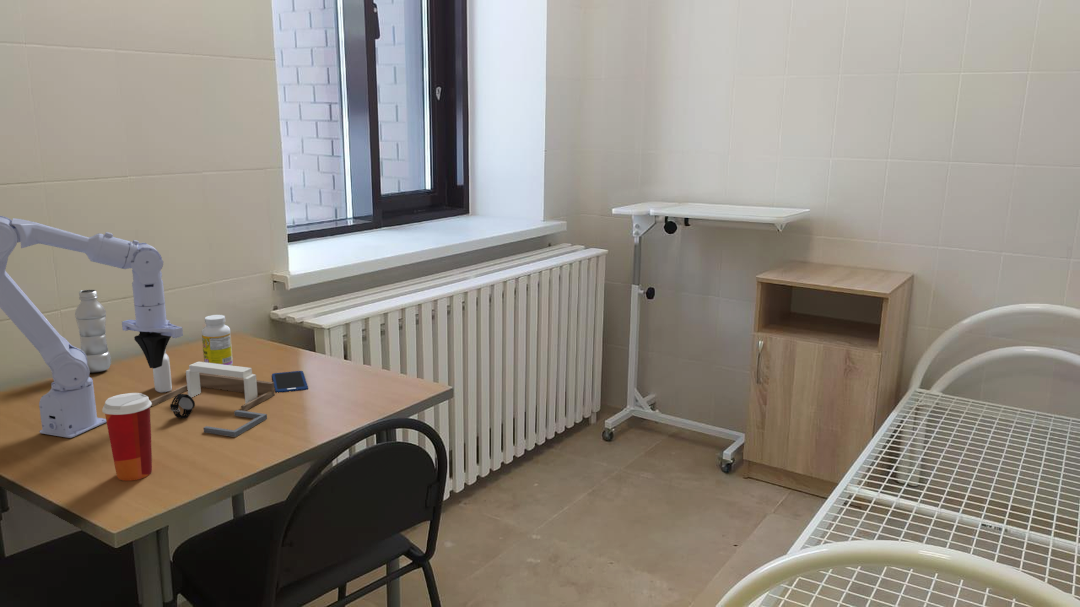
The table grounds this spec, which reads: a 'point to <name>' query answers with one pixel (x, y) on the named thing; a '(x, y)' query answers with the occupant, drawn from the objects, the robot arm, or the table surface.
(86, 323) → the plastic bottle
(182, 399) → the smartwatch
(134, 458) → the paper cup
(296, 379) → the cell phone
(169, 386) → the eye dropper bottle
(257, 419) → the frame
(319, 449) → the table surface
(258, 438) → the table surface
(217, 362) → the supplement bottle
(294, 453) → the table surface
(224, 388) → the track
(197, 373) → the clamp arch
